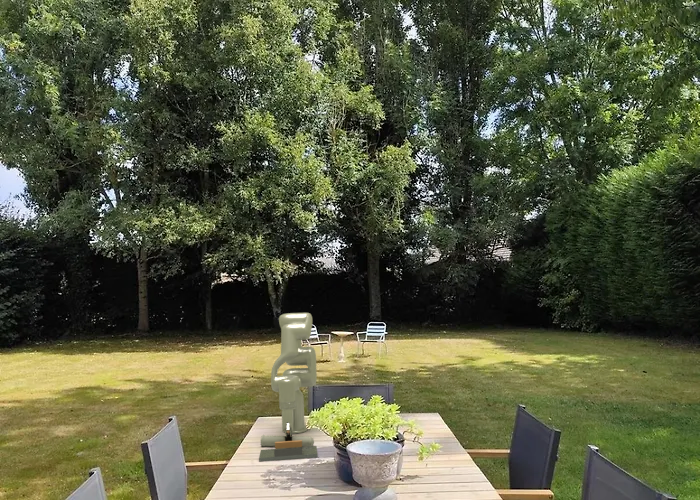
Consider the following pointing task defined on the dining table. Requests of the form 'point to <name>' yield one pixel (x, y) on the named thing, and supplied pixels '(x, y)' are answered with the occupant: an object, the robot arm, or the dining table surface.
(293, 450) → the galvanized metal plate
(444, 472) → the dining table surface
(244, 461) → the dining table surface
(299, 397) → the robot arm
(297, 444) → the bar
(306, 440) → the tube
